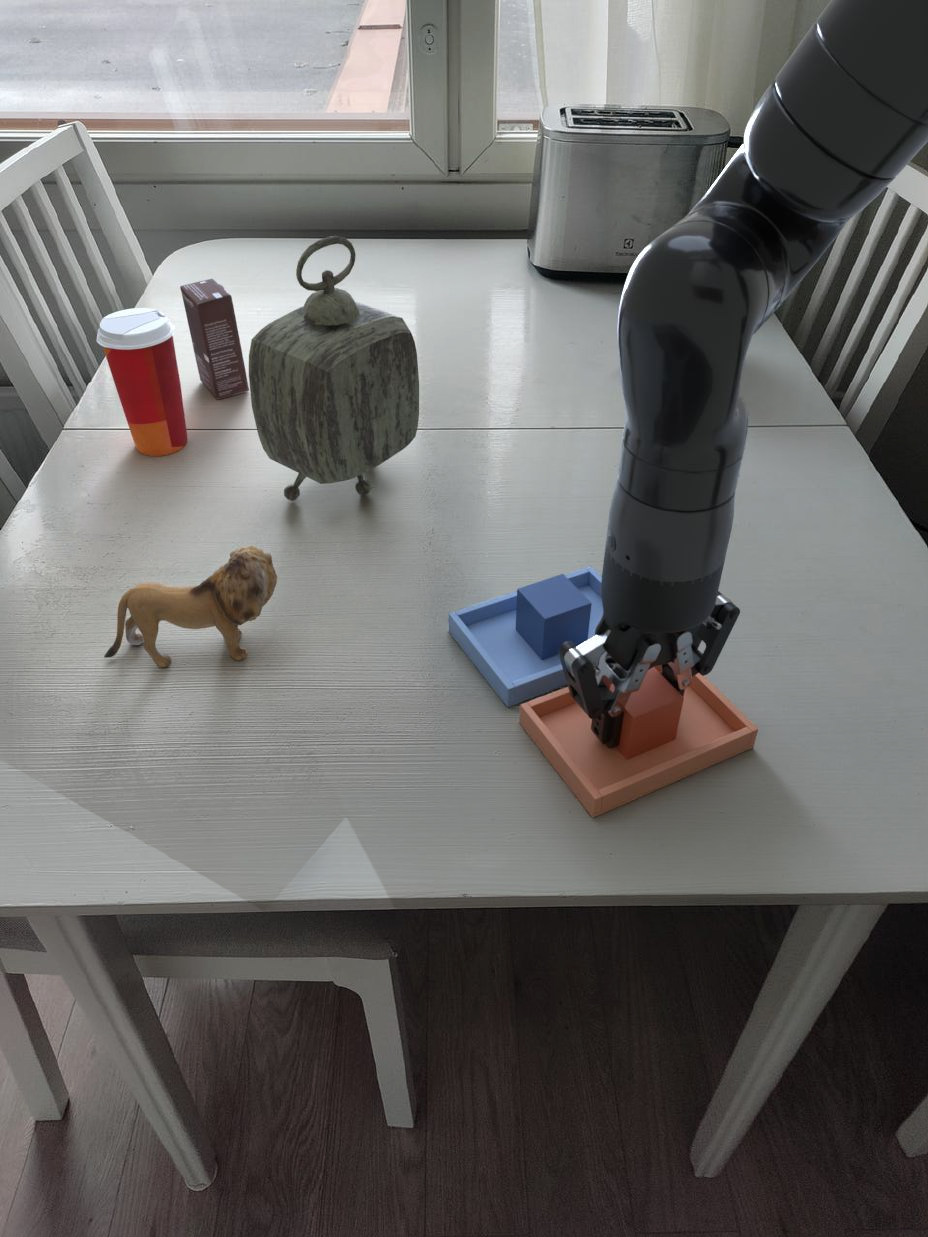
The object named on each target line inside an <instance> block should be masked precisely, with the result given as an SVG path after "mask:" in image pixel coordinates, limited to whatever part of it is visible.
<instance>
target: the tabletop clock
mask: <svg viewBox="0 0 928 1237" xmlns="http://www.w3.org/2000/svg"><path fill="white" fill-rule="evenodd" d="M332 245H343V246H344V247H345V248H347V250H348V251H349V254H350V258H349V262H348V264H347V265H346V266H345V268H343V269H342V270H341V271H340V272H338V274H336V275H335V276H334V272H333V271H331V270H328V269H325V270H323V271H322V272H321V281H319V282H314V283H313V282H307V281H305V280H304V279H303V276H302V273H303V268H304V266H305V264H306V262H307V261H308V259H309V258H310V257H311V256H312V255H313V254H314V253H316V252H317V251H319V250H321V249H323V248H326V247H329V246H332ZM299 257H300V258H299V259H298V261H297V265H296V274H295V276H296V280H297V282H298V284H299V286H300V287H302V288H303V289H305V290H307V291H313V292H312V293H311V294H310V295H309V296H308V297H307V298H306V300H305V302H304V304H303V306H300V307H298V308H296V309H294V310H293V311H290V312H288V313H287V314H284V315H283V316H281V317H279V318H277V319H275V320H273V321H271V322H269V323H268V324H266V325H264V327H263V328H261V329H260V330H259V331H258V332H257V333H256V334H255V335H254V336H253V338H251V341H250V349H249V352H248V380H249V382H248V383H249V393H250V402H251V409H252V414H253V418H254V422H255V426H256V432H257V435H258V439H259V441H260V445H261V446H262V449H263V451H264V453H265V454H266V455H267V457H268V458H269V459H270V460H271V461H274V462H275V463H278V464H279V465H281V466H284V467H285V468H288V469H290V470H292V471H293V472H295V473H297V476H296V478H295V480H294V482H293V483H291V484H288V485H286V486H285V487H284V489H283V496H284V498H286V499H287V500H288V501H297V499H298V498H299V497H300V495H301V490H300V488H299V487H300V486H301V485H302V483H303V482H304V481H305V479H306V478H308V479H310V480H312V481H314V482H316V483H319V484H320V485H325V484H327V485H328V484H334V483H339V482H344V481H345V482H346V481H348V480H352V479H355V478H356V477H357V481H356V482H355V485H354V488H355V491H356V493H357V494H358V495H360V496H366V495H368V494H370V493H371V491H372V485H371V482H370V481H369V480H367V479H364V474H365V473H366V472H368V471H370V470H373V469H374V468H377V467H378V466H380V465H382V464H384V463H385V462H386V461H388V460H389V459H391V458H392V457H394V456H396V455H397V454H399V453H400V452H402V451H403V450H404V449H406V448H407V447H408V446H409V445H410V444H411V443H412V441H414V440H415V438H416V436H417V431H418V428H419V418H420V376H419V375H420V374H419V365H418V364H419V362H418V352H417V346H416V342H415V338H414V336H413V333H412V331H411V329H410V328H409V327H408V325H407V323H406V321H405V320H404V318H403V317H400V316H397V315H396V314H393V313H389V312H387V311H383V310H381V309H378V308H376V307H372V306H369V305H366V304H363V303H360V302H358V301H355V299H354V298H353V296H352V295H351V293H350V292H348V291H347V290H345V289H341V288H339V287H335V286H337V285H338V284H339V283H341V282H342V281H344V280H345V279H346V277H348V276H349V275H350V274H351V271H352V270H353V268H354V266H355V263H356V250H355V248H354V246H353V243H352V242H351V241H350V240H349V239H347V238H346V237H343V236H340V235H332V236H331V235H330V236H327V237H323V238H321V239H318V240H316V241H314V242H313V243H311V244H310V245H309V246H308V247H307V248H306V249H305V250H304V251H303V252H302V253H301V255H300V256H299Z"/></svg>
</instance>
